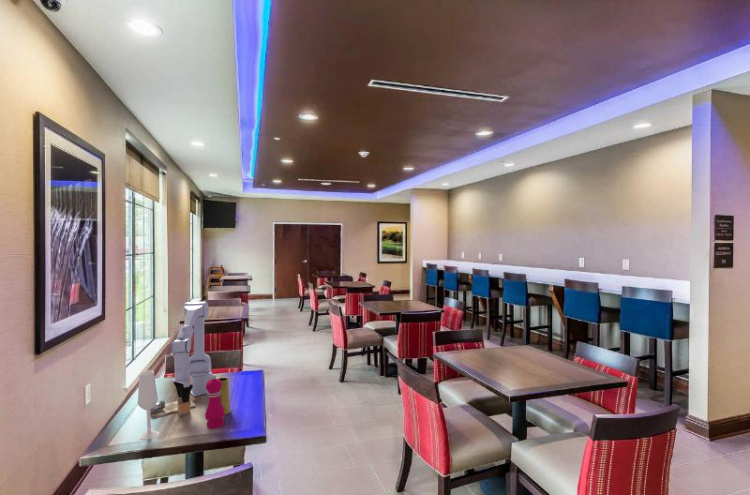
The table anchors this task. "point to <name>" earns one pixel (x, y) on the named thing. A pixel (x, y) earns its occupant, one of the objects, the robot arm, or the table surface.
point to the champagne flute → (147, 400)
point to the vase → (225, 395)
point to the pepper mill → (214, 404)
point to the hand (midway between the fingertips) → (183, 399)
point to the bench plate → (170, 409)
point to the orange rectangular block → (183, 407)
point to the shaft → (158, 407)
